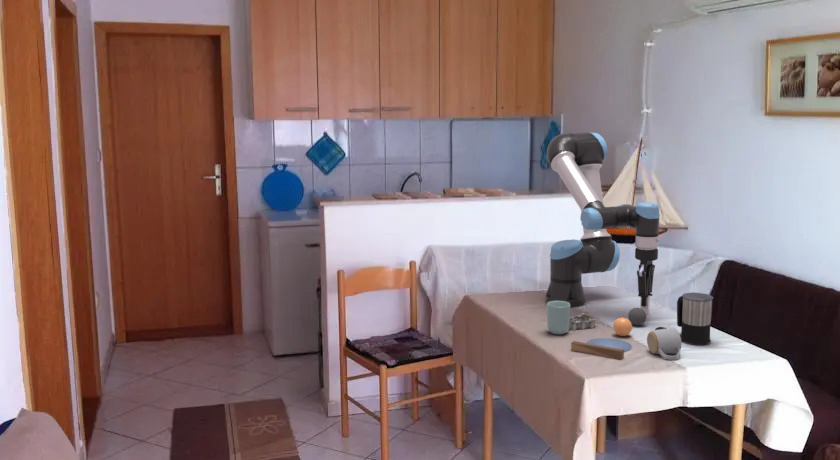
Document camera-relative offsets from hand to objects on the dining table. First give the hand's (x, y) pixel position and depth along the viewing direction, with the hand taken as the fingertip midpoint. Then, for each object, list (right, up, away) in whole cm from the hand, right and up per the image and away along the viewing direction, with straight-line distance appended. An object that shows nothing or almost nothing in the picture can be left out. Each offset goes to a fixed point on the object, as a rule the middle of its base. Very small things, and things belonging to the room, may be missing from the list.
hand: (644, 314), depth 267 cm
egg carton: (-24, -4, -5) cm, 25 cm away
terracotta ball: (-12, -2, -17) cm, 21 cm away
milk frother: (+5, -6, -23) cm, 24 cm away
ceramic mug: (-4, -8, -35) cm, 36 cm away
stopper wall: (-24, -8, -34) cm, 43 cm away
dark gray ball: (-4, 0, -6) cm, 7 cm away
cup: (-32, -5, -12) cm, 35 cm away
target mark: (-19, -7, -26) cm, 33 cm away
